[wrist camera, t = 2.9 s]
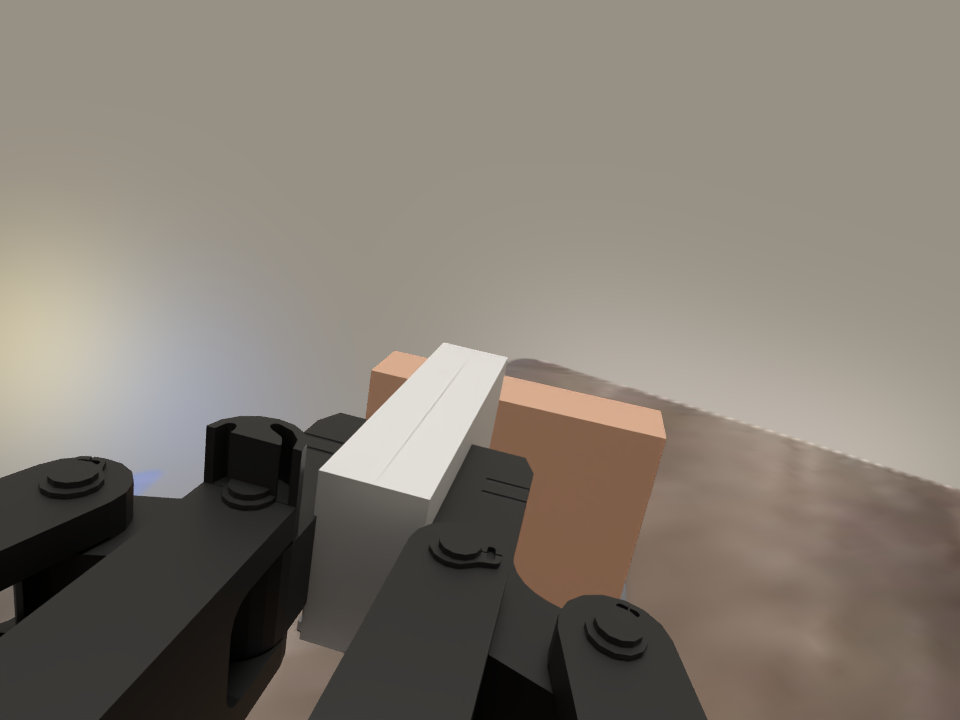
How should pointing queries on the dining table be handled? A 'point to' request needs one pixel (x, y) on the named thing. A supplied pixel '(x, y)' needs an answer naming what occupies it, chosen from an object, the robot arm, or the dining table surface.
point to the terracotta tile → (566, 478)
